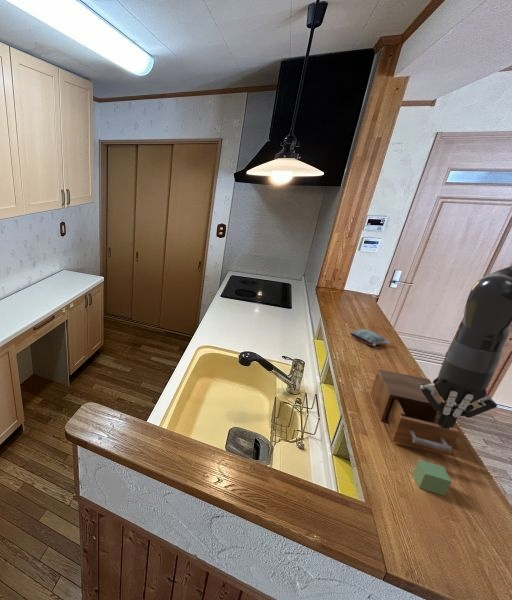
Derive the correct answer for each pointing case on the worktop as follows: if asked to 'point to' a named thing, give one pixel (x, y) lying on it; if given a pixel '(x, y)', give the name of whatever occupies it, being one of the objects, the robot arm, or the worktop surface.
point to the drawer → (419, 427)
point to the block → (431, 477)
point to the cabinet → (398, 391)
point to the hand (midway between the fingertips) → (442, 426)
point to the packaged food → (369, 337)
